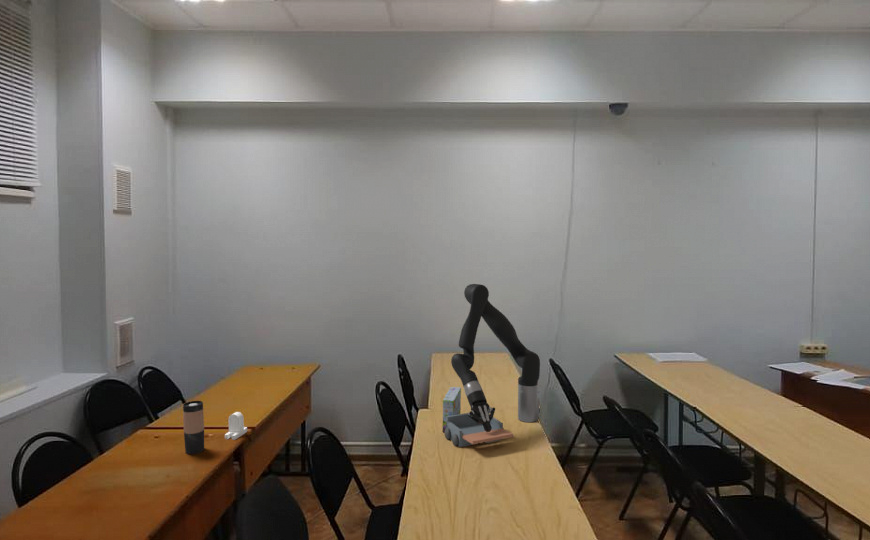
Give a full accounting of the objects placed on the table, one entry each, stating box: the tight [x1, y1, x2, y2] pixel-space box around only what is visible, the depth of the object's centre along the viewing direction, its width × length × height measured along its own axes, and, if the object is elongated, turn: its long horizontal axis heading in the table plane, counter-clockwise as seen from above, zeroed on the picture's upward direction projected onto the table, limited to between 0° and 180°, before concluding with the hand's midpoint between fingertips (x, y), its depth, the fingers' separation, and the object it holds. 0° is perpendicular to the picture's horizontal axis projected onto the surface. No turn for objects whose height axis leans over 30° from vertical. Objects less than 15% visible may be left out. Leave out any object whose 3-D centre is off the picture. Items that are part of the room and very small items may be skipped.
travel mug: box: [182, 400, 205, 455], centre depth 214 cm, size 8×8×20 cm
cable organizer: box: [224, 411, 248, 441], centre depth 231 cm, size 5×10×10 cm, turn 168°
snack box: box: [442, 386, 462, 433], centre depth 241 cm, size 21×6×15 cm, turn 168°
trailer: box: [443, 411, 504, 448], centre depth 226 cm, size 23×13×9 cm, turn 114°
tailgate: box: [463, 427, 514, 445], centre depth 215 cm, size 19×2×9 cm
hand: (489, 431), depth 214 cm, fingers closed
